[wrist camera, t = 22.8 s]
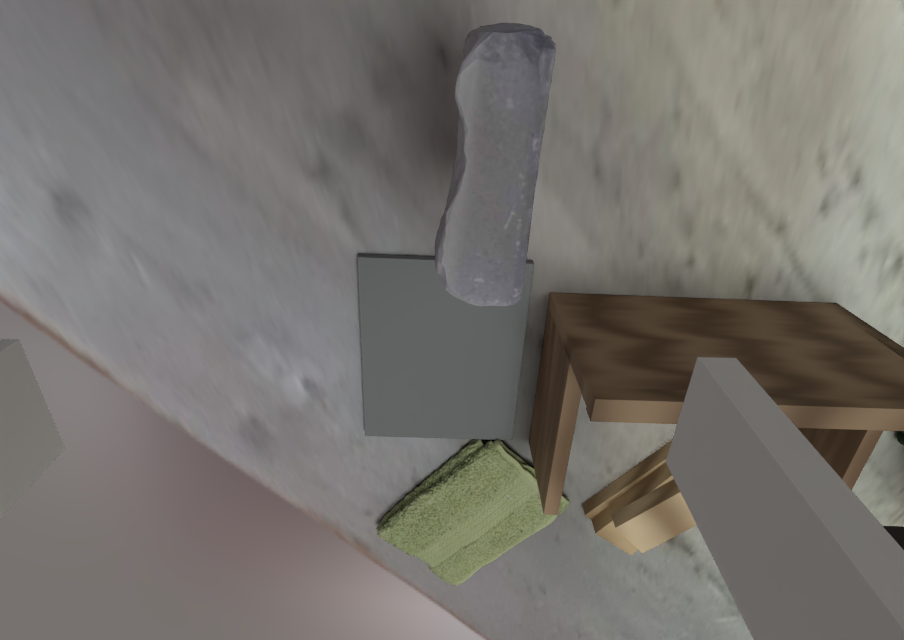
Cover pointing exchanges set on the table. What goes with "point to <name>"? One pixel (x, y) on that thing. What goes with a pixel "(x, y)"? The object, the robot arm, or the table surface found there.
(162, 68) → the table surface
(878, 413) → the walnut rack
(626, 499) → the offcut stack
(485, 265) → the stone block
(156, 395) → the table surface
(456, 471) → the washcloth
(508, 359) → the charcoal panel
